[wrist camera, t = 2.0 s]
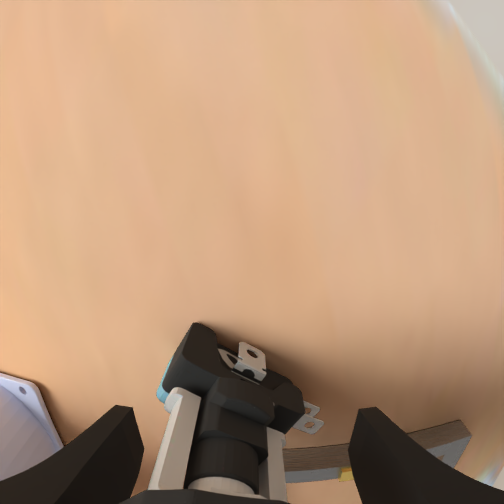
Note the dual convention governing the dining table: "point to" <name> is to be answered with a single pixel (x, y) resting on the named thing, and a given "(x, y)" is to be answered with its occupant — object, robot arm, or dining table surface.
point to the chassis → (338, 463)
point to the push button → (223, 426)
